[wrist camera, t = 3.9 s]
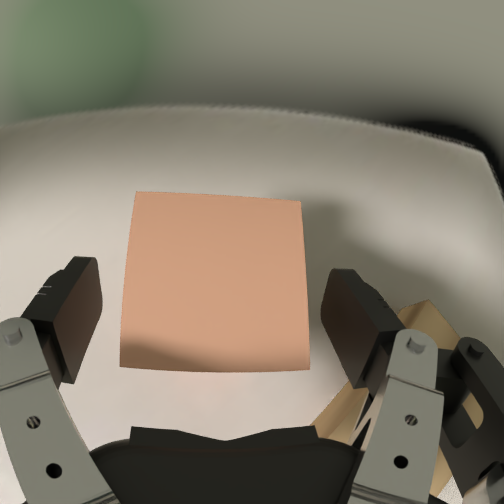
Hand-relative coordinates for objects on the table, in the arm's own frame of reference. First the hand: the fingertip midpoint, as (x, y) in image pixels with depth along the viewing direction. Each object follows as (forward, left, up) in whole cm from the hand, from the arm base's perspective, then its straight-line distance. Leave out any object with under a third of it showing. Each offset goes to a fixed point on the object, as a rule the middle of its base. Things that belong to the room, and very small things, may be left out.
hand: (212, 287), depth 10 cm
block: (0, -1, -5) cm, 5 cm away
